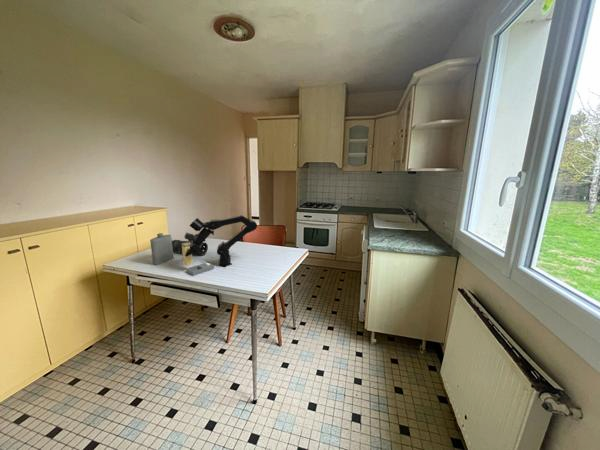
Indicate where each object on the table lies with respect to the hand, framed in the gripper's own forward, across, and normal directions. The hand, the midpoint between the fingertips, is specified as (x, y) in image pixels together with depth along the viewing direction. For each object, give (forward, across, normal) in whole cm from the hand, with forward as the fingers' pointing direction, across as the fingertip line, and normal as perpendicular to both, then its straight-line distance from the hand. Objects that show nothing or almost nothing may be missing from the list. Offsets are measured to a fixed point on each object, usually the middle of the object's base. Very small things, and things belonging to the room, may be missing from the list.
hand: (185, 254), depth 145 cm
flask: (+16, -24, -1) cm, 29 cm away
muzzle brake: (+4, -33, +12) cm, 35 cm away
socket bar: (+2, +5, +13) cm, 14 cm away
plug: (+4, 0, +6) cm, 7 cm away
